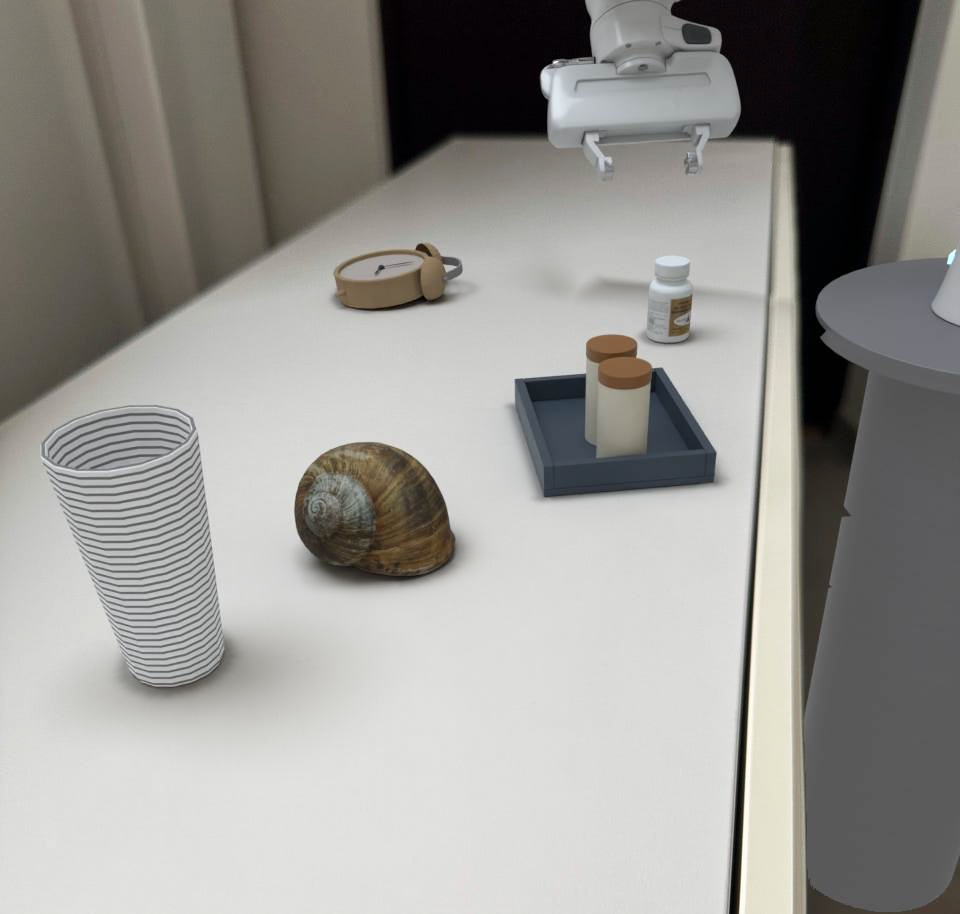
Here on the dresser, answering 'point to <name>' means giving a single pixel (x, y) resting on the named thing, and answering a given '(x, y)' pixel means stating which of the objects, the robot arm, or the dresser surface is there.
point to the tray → (572, 460)
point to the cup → (143, 534)
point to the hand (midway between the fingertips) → (650, 174)
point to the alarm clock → (394, 276)
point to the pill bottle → (670, 300)
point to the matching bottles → (616, 396)
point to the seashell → (373, 511)
